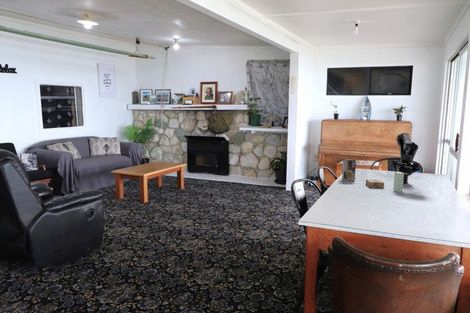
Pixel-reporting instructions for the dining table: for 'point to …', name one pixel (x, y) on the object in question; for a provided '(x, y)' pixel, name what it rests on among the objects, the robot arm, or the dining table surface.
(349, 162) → the coffee box
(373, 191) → the dining table surface
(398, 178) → the sage block
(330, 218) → the dining table surface
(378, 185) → the walnut base block
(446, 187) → the dining table surface
